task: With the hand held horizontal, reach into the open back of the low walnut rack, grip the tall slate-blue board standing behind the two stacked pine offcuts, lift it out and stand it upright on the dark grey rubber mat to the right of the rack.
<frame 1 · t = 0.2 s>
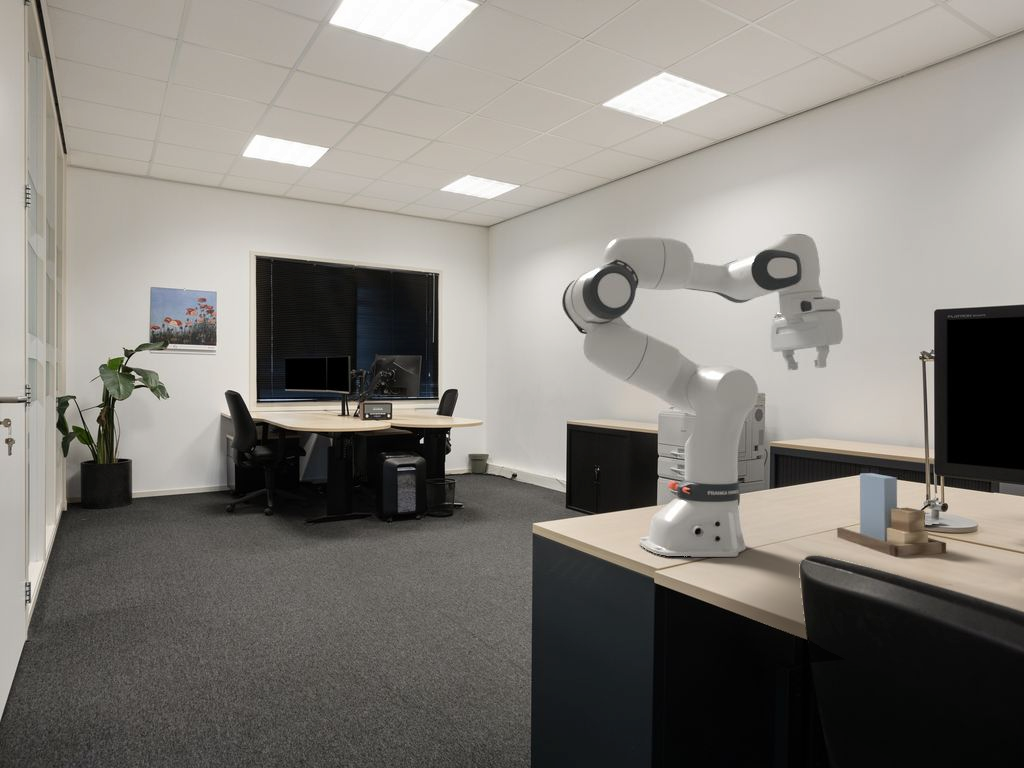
hand: (806, 368, 143), 39 cm above the table, tool pointing down, fingers open, 8 cm apart
tall sheet: (878, 541, 137), point 1 cm above the table, touching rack
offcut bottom: (907, 549, 130), point 1 cm above the table, touching offcut top, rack
mat: (924, 543, 140), on the table
offcut top: (907, 529, 130), point 5 cm above the table, touching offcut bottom
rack: (888, 551, 134), on the table
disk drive: (899, 522, 165), on the table
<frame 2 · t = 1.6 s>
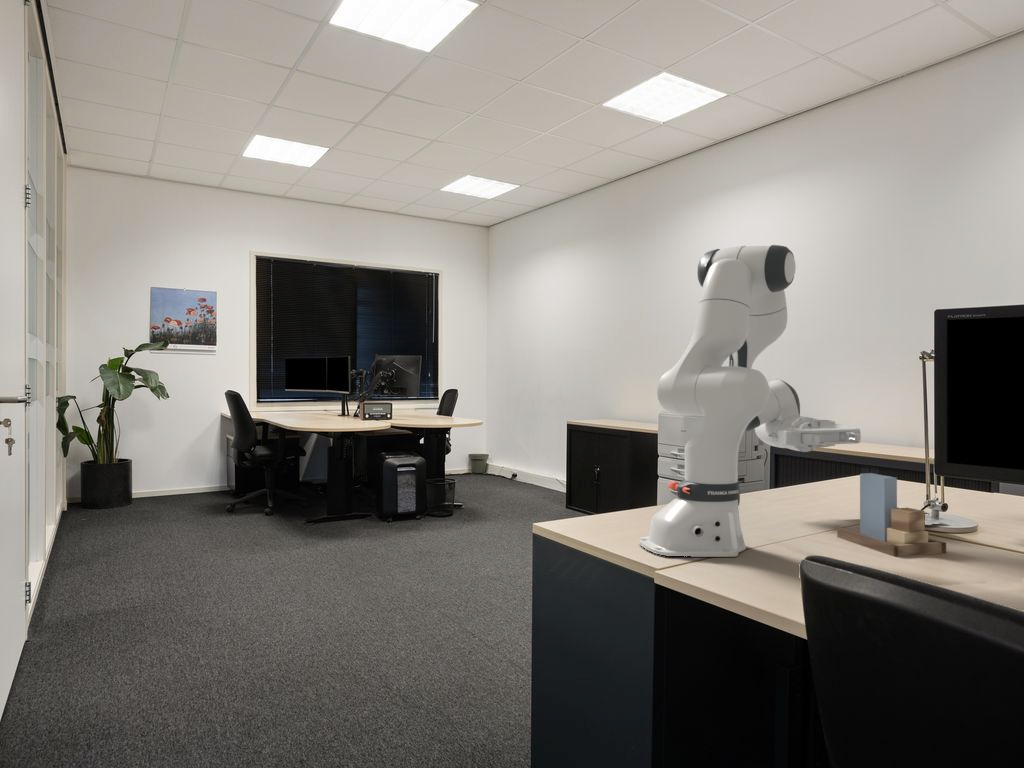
hand: (839, 439, 149), 22 cm above the table, tool horizontal, fingers open, 8 cm apart
nothing on the table moved.
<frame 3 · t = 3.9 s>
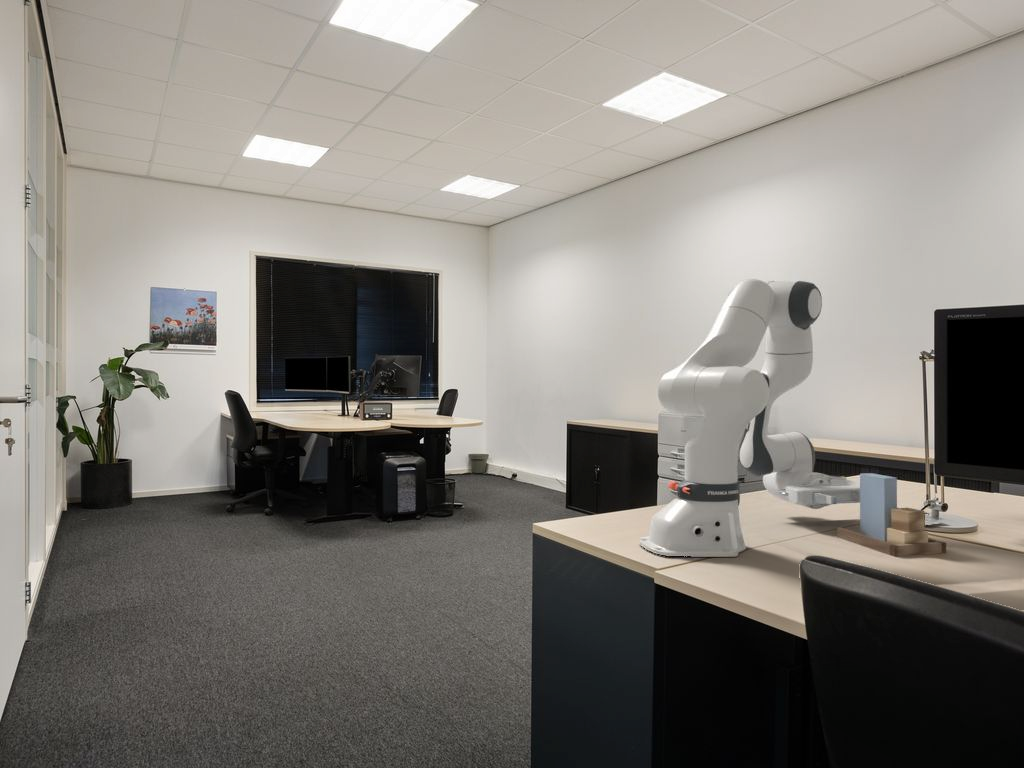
hand: (852, 499, 144), 9 cm above the table, tool horizontal, fingers open, 8 cm apart
nothing on the table moved.
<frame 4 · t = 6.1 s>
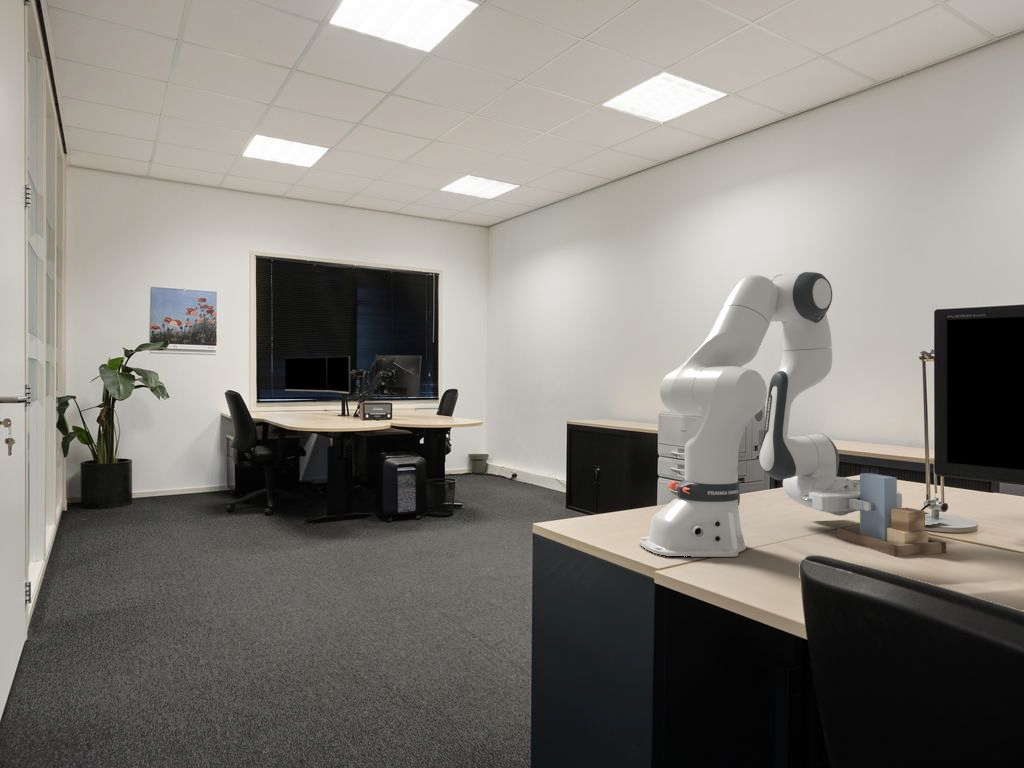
hand: (881, 506, 136), 9 cm above the table, tool horizontal, fingers closed on tall sheet, 3 cm apart
tall sheet: (878, 541, 137), point 2 cm above the table, touching gripper, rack
everything else where it was.
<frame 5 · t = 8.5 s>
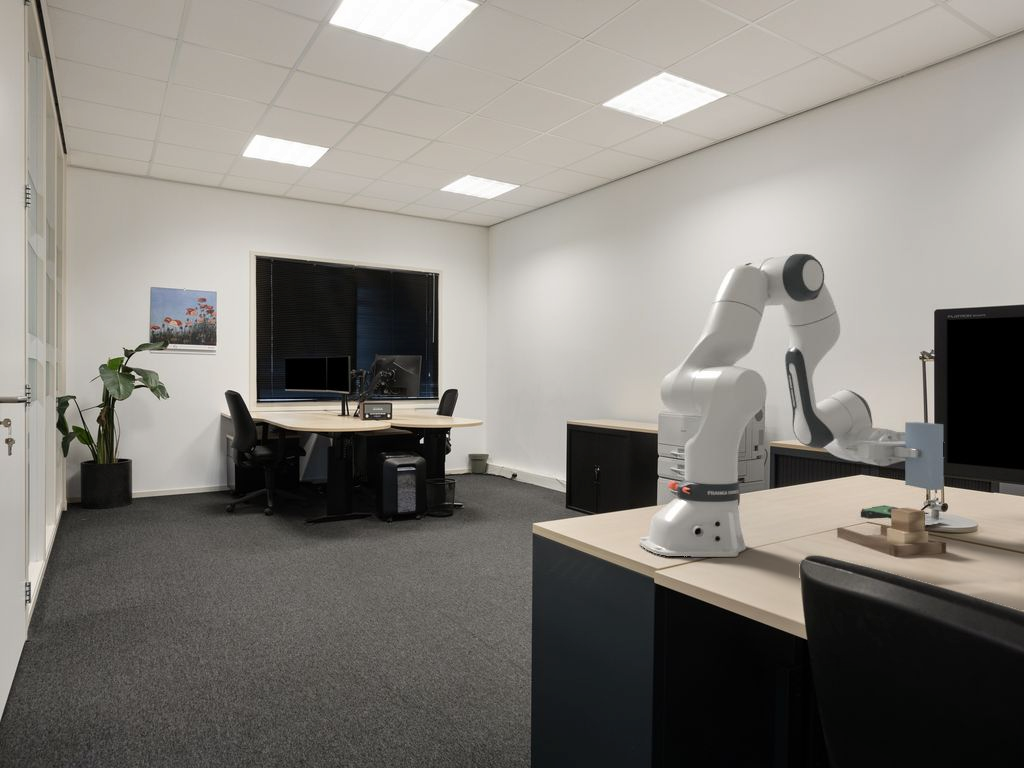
hand: (927, 453, 140), 20 cm above the table, tool horizontal, fingers closed on tall sheet, 3 cm apart
tall sheet: (923, 487, 141), point 12 cm above the table, touching gripper
everything else where it was.
when the fingers open (9 cm above the table, at t = 10.7 s): tall sheet drops 1 cm, resting on mat.
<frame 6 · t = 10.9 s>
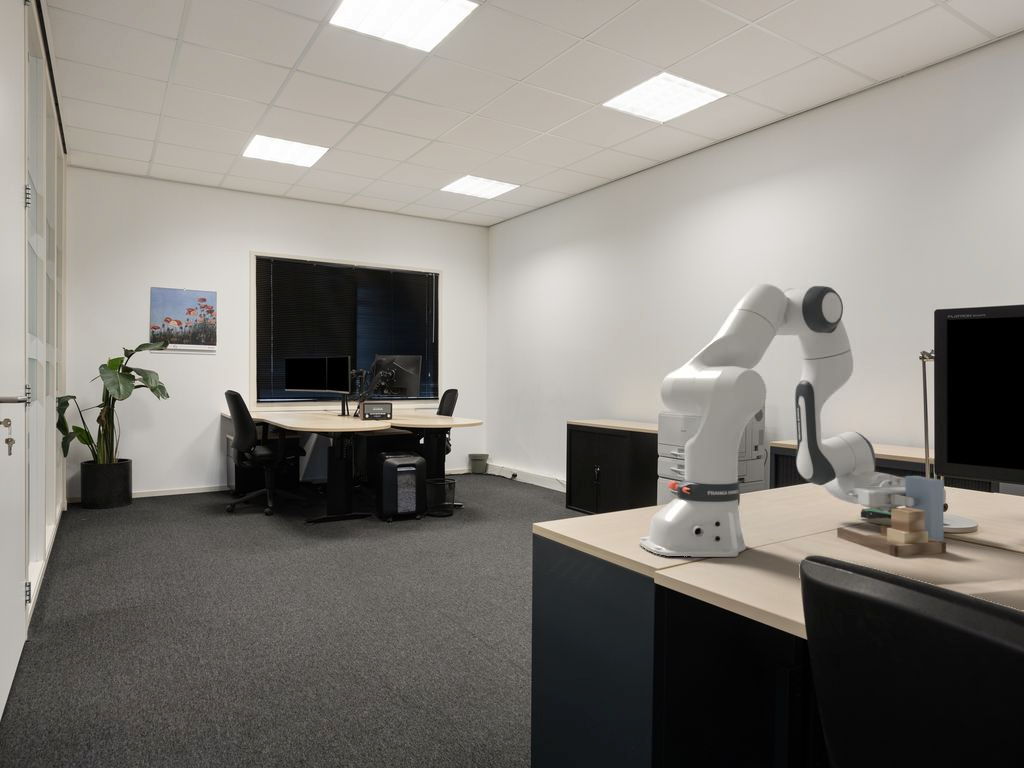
hand: (927, 501, 140), 9 cm above the table, tool horizontal, fingers open, 5 cm apart
tall sheet: (924, 541, 140), resting on mat
everything else where it was.
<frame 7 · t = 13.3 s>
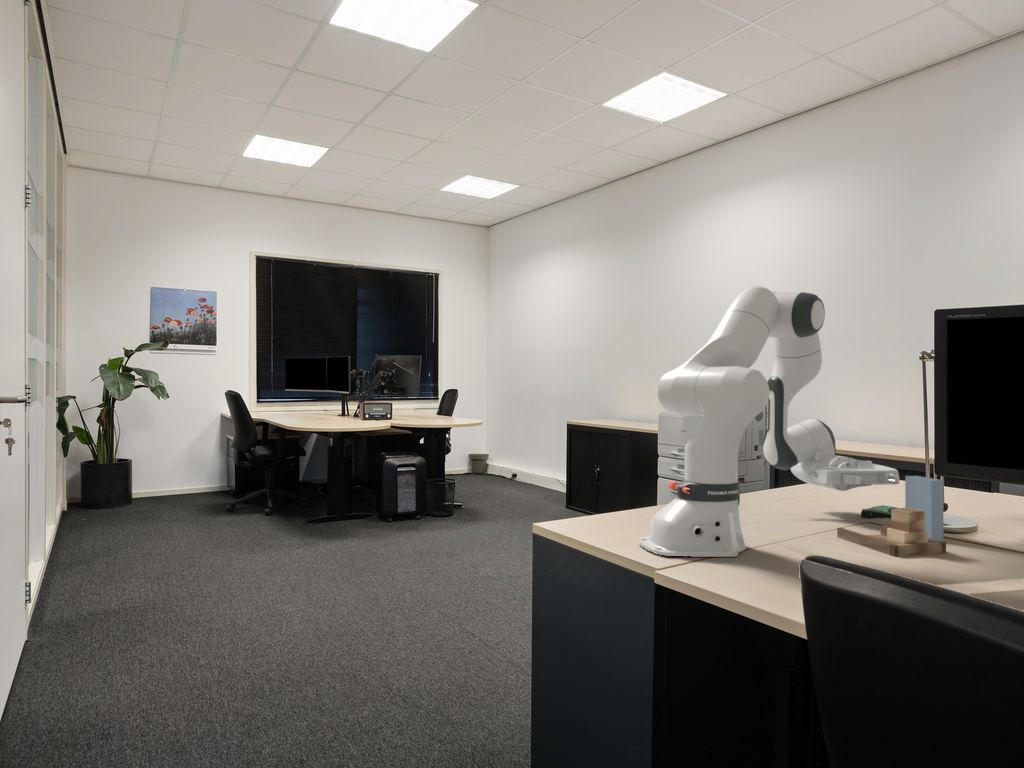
hand: (879, 480, 152), 12 cm above the table, tool horizontal, fingers open, 8 cm apart
nothing on the table moved.
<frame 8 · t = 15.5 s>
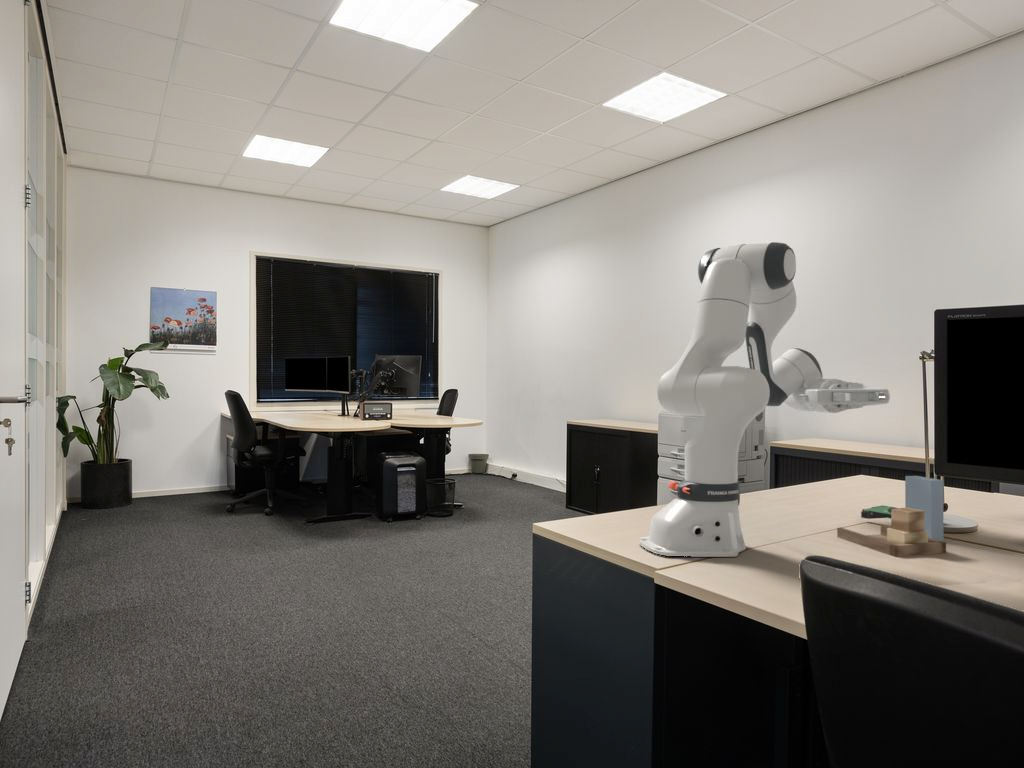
hand: (869, 396, 153), 32 cm above the table, tool horizontal, fingers open, 8 cm apart
nothing on the table moved.
at the end: tall sheet inside the target area (0.1 cm from its centre), resting on mat; tall sheet tilted 0°; the gripper is holding nothing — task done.
